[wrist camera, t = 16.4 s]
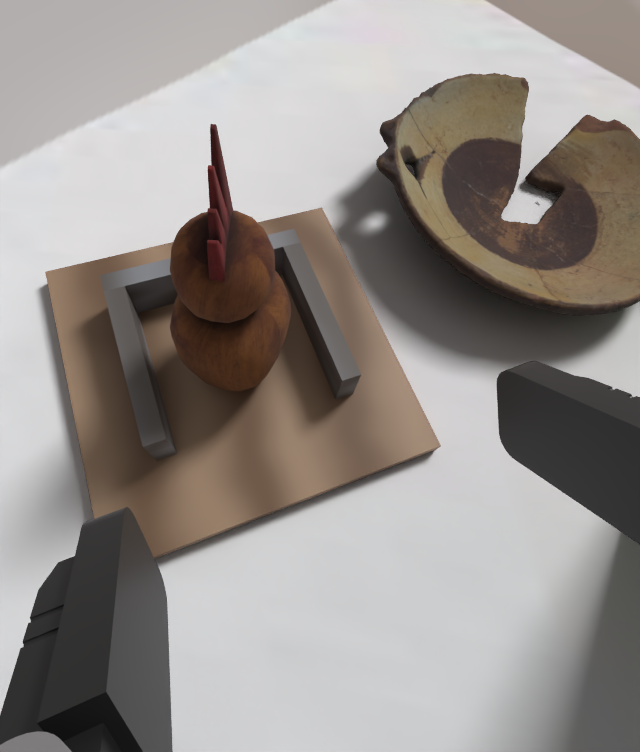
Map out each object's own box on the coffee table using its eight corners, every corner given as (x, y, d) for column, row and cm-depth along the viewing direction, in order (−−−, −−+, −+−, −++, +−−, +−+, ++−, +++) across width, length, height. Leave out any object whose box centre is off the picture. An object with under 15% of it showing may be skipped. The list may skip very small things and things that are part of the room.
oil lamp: (430, 91, 44) (460, -1, 37) (736, 226, 40) (834, 152, 33) (318, 247, 35) (330, 164, 28) (699, 438, 31) (822, 398, 24)
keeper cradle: (111, 575, 24) (83, 575, 21) (52, 280, 31) (22, 241, 28) (435, 450, 29) (458, 431, 25) (320, 217, 36) (326, 176, 32)
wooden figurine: (221, 300, 31) (179, 79, 17) (300, 332, 30) (321, 130, 17) (171, 385, 28) (73, 201, 14) (257, 420, 28) (241, 265, 14)
